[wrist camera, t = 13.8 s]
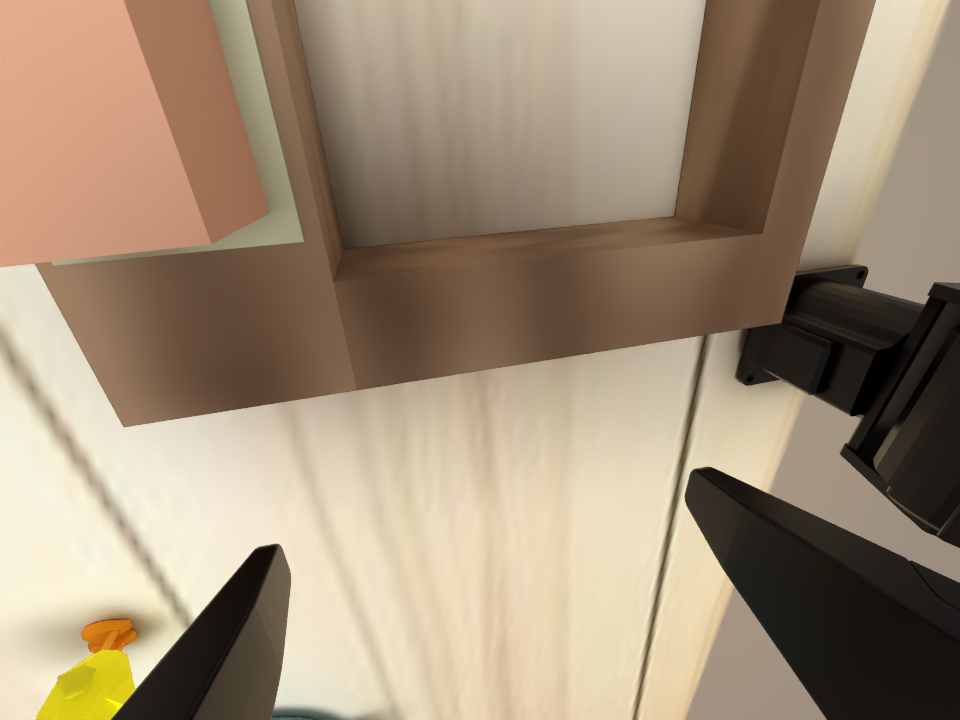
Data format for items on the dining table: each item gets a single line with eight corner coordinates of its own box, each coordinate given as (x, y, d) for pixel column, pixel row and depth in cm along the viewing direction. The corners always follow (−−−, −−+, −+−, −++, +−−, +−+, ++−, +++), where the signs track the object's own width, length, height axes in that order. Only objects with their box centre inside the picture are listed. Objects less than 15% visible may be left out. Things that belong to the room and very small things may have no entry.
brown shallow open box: (782, -164, 14) (977, -316, 10) (697, 288, 21) (785, 324, 17) (-63, -240, 10) (-438, -581, 5) (187, 358, 17) (119, 430, 13)
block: (206, -6, 9) (75, -135, 5) (270, 213, 11) (211, 244, 7) (-42, -3, 8) (-428, -153, 4) (76, 232, 10) (-111, 279, 6)
